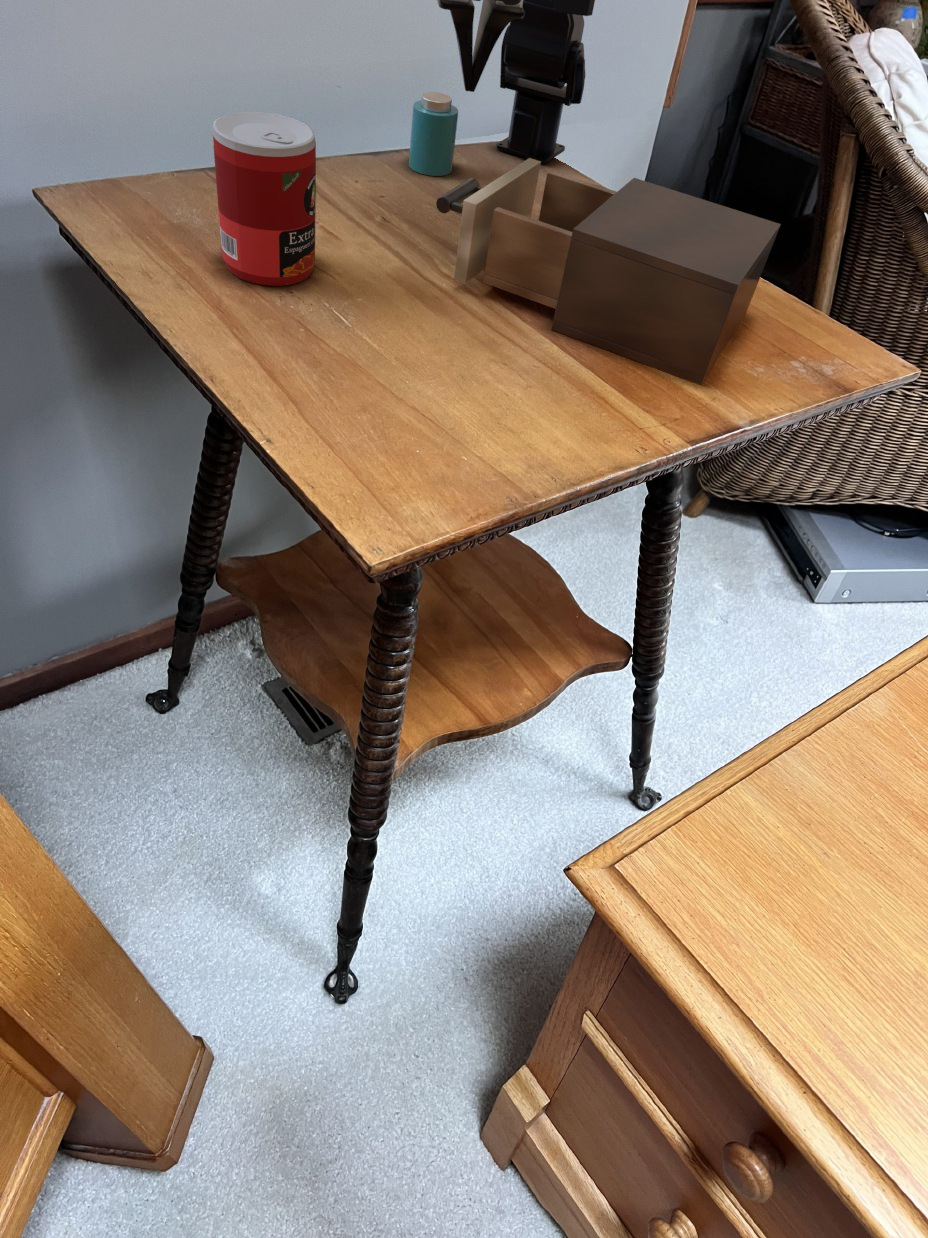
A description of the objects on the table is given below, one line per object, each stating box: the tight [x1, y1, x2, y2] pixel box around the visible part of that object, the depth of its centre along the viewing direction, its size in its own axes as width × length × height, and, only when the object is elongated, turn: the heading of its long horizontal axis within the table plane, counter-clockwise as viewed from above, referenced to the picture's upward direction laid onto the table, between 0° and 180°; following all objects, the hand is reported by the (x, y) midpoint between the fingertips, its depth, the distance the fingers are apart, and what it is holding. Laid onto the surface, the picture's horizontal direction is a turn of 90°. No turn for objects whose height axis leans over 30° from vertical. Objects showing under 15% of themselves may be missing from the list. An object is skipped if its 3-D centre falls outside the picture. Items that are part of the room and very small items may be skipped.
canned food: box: [212, 111, 317, 287], centre depth 71 cm, size 8×8×11 cm
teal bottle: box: [408, 91, 459, 177], centre depth 93 cm, size 5×5×7 cm
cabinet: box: [550, 177, 782, 386], centre depth 74 cm, size 14×15×9 cm
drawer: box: [435, 158, 617, 310], centre depth 77 cm, size 17×13×7 cm
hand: (469, 89), depth 79 cm, fingers closed
